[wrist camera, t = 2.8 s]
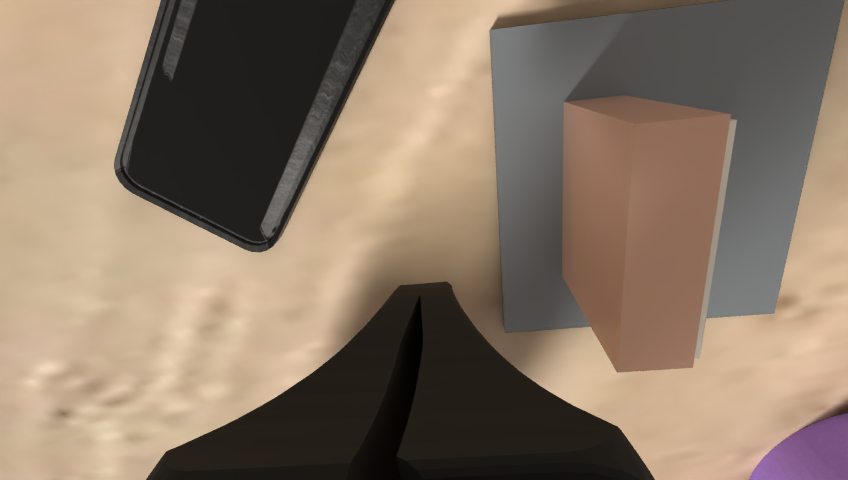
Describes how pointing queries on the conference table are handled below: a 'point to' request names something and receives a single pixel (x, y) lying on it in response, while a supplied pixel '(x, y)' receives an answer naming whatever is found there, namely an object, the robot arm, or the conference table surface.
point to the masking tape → (809, 454)
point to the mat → (671, 83)
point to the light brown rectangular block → (643, 223)
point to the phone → (241, 107)
